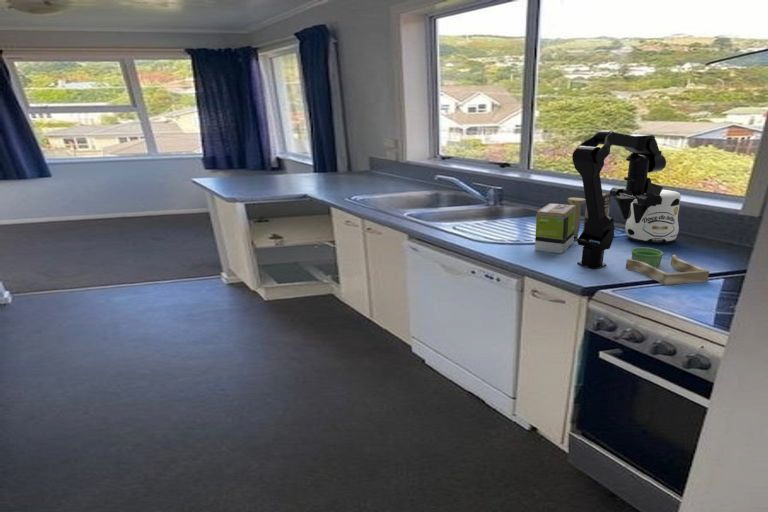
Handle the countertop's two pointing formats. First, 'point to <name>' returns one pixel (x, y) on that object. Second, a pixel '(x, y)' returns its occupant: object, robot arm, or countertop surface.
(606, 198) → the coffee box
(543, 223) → the tea box
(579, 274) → the countertop surface
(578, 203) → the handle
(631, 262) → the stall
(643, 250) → the ramekin
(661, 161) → the robot arm
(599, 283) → the countertop surface
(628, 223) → the milk container
